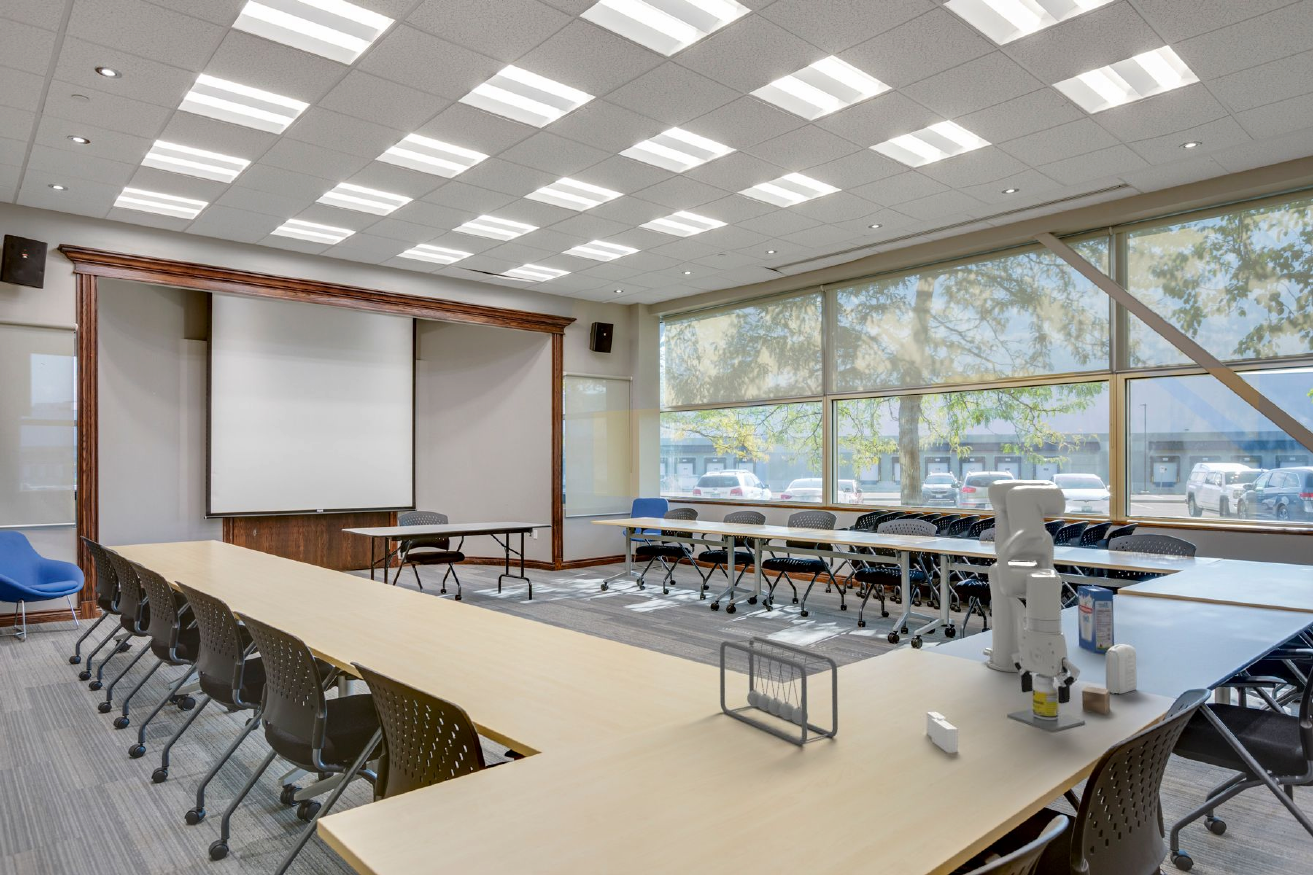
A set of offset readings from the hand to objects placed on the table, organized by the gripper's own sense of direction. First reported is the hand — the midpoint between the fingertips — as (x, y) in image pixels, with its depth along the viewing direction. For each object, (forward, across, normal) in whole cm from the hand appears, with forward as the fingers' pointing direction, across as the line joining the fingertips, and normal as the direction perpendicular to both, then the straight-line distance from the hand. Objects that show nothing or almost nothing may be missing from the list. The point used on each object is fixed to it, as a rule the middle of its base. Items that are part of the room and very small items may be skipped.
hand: (1045, 696), depth 186 cm
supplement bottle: (+5, 0, 0) cm, 5 cm away
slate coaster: (+5, 0, 0) cm, 5 cm away
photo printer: (+6, -6, +40) cm, 41 cm away
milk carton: (+6, -38, +79) cm, 88 cm away
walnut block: (+6, +1, +18) cm, 19 cm away
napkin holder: (+6, -1, -33) cm, 34 cm away
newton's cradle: (+6, -28, -59) cm, 65 cm away
